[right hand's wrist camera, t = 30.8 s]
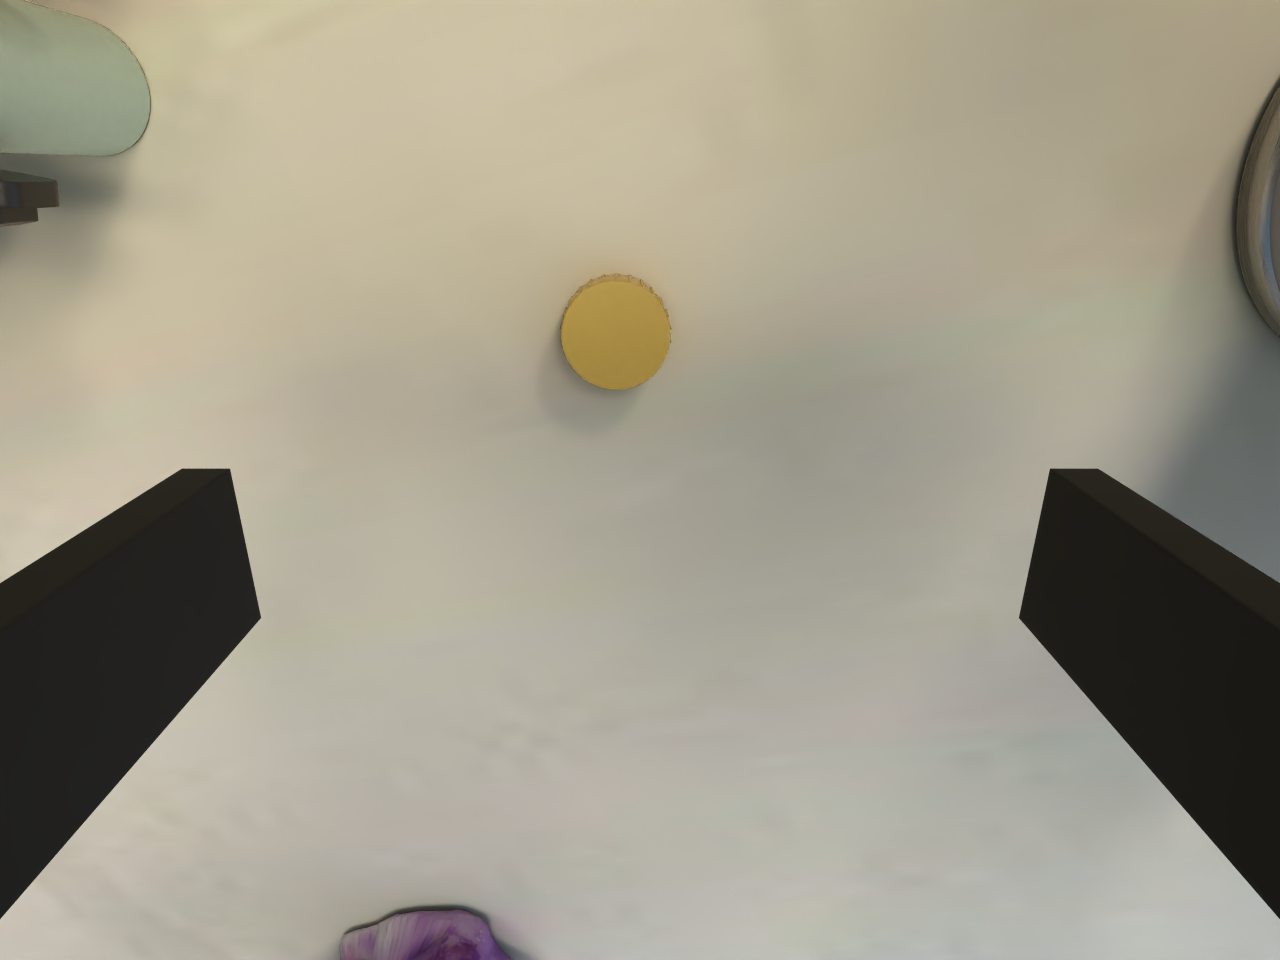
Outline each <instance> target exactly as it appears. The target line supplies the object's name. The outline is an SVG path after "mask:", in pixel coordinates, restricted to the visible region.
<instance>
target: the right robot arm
mask: <svg viewBox="0 0 1280 960" xmlns="http://www.w3.org/2000/svg"><path fill="white" fill-rule="evenodd" d="M1236 234H1237V249H1238V255H1239V262H1240V267H1241V270H1242V274H1243V278H1244V282H1245V284H1246V287H1247V289H1248V292H1249V294H1250V297H1251V299H1252V300H1253V302H1254V304H1255V306H1256V308H1257V309H1258V311H1259V313H1260V314H1261V315H1262V317H1263V318H1264V319H1265V321H1266V322H1267V324H1268V325H1269V326H1270V327H1271V328H1272V329H1273V330H1274V331H1275V332H1276V333H1277V334H1278V335H1279V336H1280V85H1279V87H1278V89H1277V90H1276V92H1275V93H1274V95H1273V97H1272V99H1271V101H1270V103H1269V105H1268V107H1267V109H1266V111H1265V113H1264V115H1263V117H1262V119H1261V122H1260V124H1259V127H1258V129H1257V131H1256V134H1255V136H1254V139H1253V141H1252V144H1251V148H1250V151H1249V154H1248V157H1247V160H1246V163H1245V167H1244V171H1243V176H1242V180H1241V184H1240V191H1239V197H1238V204H1237V220H1236ZM260 618H261V615H260V611H259V606H258V601H257V596H256V591H255V587H254V582H253V577H252V572H251V567H250V563H249V558H248V553H247V548H246V543H245V539H244V534H243V529H242V524H241V519H240V515H239V510H238V505H237V500H236V496H235V491H234V486H233V481H232V476H231V472H230V469H181V470H179V471H178V472H176V473H175V474H173V475H171V476H170V477H168V478H167V479H165V480H163V481H162V482H160V483H159V484H157V485H155V486H154V487H152V488H151V489H149V490H148V491H146V492H144V493H143V494H141V495H140V496H138V497H136V498H135V499H133V500H132V501H130V502H128V503H127V504H125V505H124V506H122V507H121V508H119V509H117V510H116V511H114V512H113V513H111V514H109V515H108V516H106V517H105V518H103V519H101V520H100V521H98V522H97V523H95V524H94V525H92V526H90V527H89V528H87V529H86V530H84V531H82V532H81V533H79V534H78V535H76V536H74V537H73V538H71V539H70V540H68V541H67V542H65V543H63V544H62V545H60V546H59V547H57V548H55V549H54V550H52V551H51V552H49V553H48V554H46V555H44V556H43V557H41V558H40V559H38V560H36V561H35V562H33V563H32V564H30V565H28V566H27V567H25V568H24V569H22V570H21V571H19V572H17V573H16V574H14V575H13V576H11V577H9V578H8V579H6V580H5V581H3V582H1V583H0V919H1V918H2V916H3V915H4V914H5V913H6V912H7V911H8V909H9V908H10V907H11V906H12V905H13V904H14V902H15V901H16V900H17V899H18V898H19V897H20V896H21V894H22V893H23V892H24V891H25V890H26V889H27V887H28V886H29V885H30V884H31V883H32V882H33V881H34V879H35V878H36V877H37V876H38V875H39V874H40V872H41V871H42V870H43V869H44V868H45V867H46V866H47V864H48V863H49V862H50V861H51V860H52V859H53V857H54V856H55V855H56V854H57V853H58V852H59V851H60V849H61V848H62V847H63V846H64V845H65V844H66V842H67V841H68V840H69V839H70V838H71V837H72V836H73V834H74V833H75V832H76V831H77V830H78V829H79V827H80V826H81V825H82V824H83V823H84V822H85V821H86V819H87V818H88V817H89V816H90V815H91V814H92V812H93V811H94V810H95V809H96V808H97V807H98V806H99V804H100V803H101V802H102V801H103V800H104V799H105V797H106V796H107V795H108V794H109V793H110V792H111V790H112V789H113V788H114V787H115V786H116V785H117V784H118V782H119V781H120V780H121V779H122V778H123V777H124V775H125V774H126V773H127V772H128V771H129V770H130V769H131V767H132V766H133V765H134V764H135V763H136V762H137V760H138V759H139V758H140V757H141V756H142V755H143V754H144V752H145V751H146V750H147V749H148V748H149V747H150V745H151V744H152V743H153V742H154V741H155V740H156V739H157V737H158V736H159V735H160V734H161V733H162V732H163V730H164V729H165V728H166V727H167V726H168V725H169V724H170V722H171V721H172V720H173V719H174V718H175V717H176V715H177V714H178V713H179V712H180V711H181V710H182V709H183V707H184V706H185V705H186V704H187V703H188V702H189V700H190V699H191V698H192V697H193V696H194V695H195V693H196V692H197V691H198V690H199V689H200V688H201V687H202V685H203V684H204V683H205V682H206V681H207V680H208V678H209V677H210V676H211V675H212V674H213V673H214V672H215V670H216V669H217V668H218V667H219V666H220V665H221V663H222V662H223V661H224V660H225V659H226V658H227V657H228V655H229V654H230V653H231V652H232V651H233V650H234V648H235V647H236V646H237V645H238V644H239V643H240V642H241V640H242V639H243V638H244V637H245V636H246V635H247V633H248V632H249V631H250V630H251V629H252V628H253V627H254V625H255V624H256V623H257V622H258V621H259V620H260ZM1019 618H1020V620H1021V621H1022V622H1023V623H1024V624H1025V625H1026V627H1027V628H1028V629H1029V630H1030V631H1031V632H1032V633H1033V635H1034V636H1035V637H1036V638H1037V639H1038V640H1039V642H1040V643H1041V644H1042V645H1043V646H1044V647H1045V648H1046V650H1047V651H1048V652H1049V653H1050V654H1051V655H1052V657H1053V658H1054V659H1055V660H1056V661H1057V662H1058V663H1059V665H1060V666H1061V667H1062V668H1063V669H1064V670H1065V672H1066V673H1067V674H1068V675H1069V676H1070V677H1071V678H1072V680H1073V681H1074V682H1075V683H1076V684H1077V685H1078V687H1079V688H1080V689H1081V690H1082V691H1083V692H1084V693H1085V695H1086V696H1087V697H1088V698H1089V699H1090V700H1091V702H1092V703H1093V704H1094V705H1095V706H1096V707H1097V709H1098V710H1099V711H1100V712H1101V713H1102V714H1103V715H1104V717H1105V718H1106V719H1107V720H1108V721H1109V722H1110V724H1111V725H1112V726H1113V727H1114V728H1115V729H1116V730H1117V732H1118V733H1119V734H1120V735H1121V736H1122V737H1123V739H1124V740H1125V741H1126V742H1127V743H1128V744H1129V745H1130V747H1131V748H1132V749H1133V750H1134V751H1135V752H1136V754H1137V755H1138V756H1139V757H1140V758H1141V759H1142V760H1143V762H1144V763H1145V764H1146V765H1147V766H1148V767H1149V769H1150V770H1151V771H1152V772H1153V773H1154V774H1155V775H1156V777H1157V778H1158V779H1159V780H1160V781H1161V782H1162V784H1163V785H1164V786H1165V787H1166V788H1167V789H1168V790H1169V792H1170V793H1171V794H1172V795H1173V796H1174V797H1175V799H1176V800H1177V801H1178V802H1179V803H1180V804H1181V806H1182V807H1183V808H1184V809H1185V810H1186V811H1187V812H1188V814H1189V815H1190V816H1191V817H1192V818H1193V819H1194V821H1195V822H1196V823H1197V824H1198V825H1199V826H1200V827H1201V829H1202V830H1203V831H1204V832H1205V833H1206V834H1207V836H1208V837H1209V838H1210V839H1211V840H1212V841H1213V842H1214V844H1215V845H1216V846H1217V847H1218V848H1219V849H1220V851H1221V852H1222V853H1223V854H1224V855H1225V856H1226V857H1227V859H1228V860H1229V861H1230V862H1231V863H1232V864H1233V866H1234V867H1235V868H1236V869H1237V870H1238V871H1239V872H1240V874H1241V875H1242V876H1243V877H1244V878H1245V879H1246V881H1247V882H1248V883H1249V884H1250V885H1251V886H1252V887H1253V889H1254V890H1255V891H1256V892H1257V893H1258V894H1259V896H1260V897H1261V898H1262V899H1263V900H1264V901H1265V902H1266V904H1267V905H1268V906H1269V907H1270V908H1271V909H1272V911H1273V912H1274V913H1275V914H1276V915H1277V916H1278V918H1279V919H1280V583H1279V582H1277V581H1275V580H1274V579H1272V578H1271V577H1269V576H1267V575H1266V574H1264V573H1263V572H1261V571H1259V570H1258V569H1256V568H1255V567H1253V566H1252V565H1250V564H1248V563H1247V562H1245V561H1244V560H1242V559H1240V558H1239V557H1237V556H1236V555H1234V554H1232V553H1231V552H1229V551H1228V550H1226V549H1225V548H1223V547H1221V546H1220V545H1218V544H1217V543H1215V542H1213V541H1212V540H1210V539H1209V538H1207V537H1206V536H1204V535H1202V534H1201V533H1199V532H1198V531H1196V530H1194V529H1193V528H1191V527H1190V526H1188V525H1186V524H1185V523H1183V522H1182V521H1180V520H1179V519H1177V518H1175V517H1174V516H1172V515H1171V514H1169V513H1167V512H1166V511H1164V510H1163V509H1161V508H1159V507H1158V506H1156V505H1155V504H1153V503H1152V502H1150V501H1148V500H1147V499H1145V498H1144V497H1142V496H1140V495H1139V494H1137V493H1136V492H1134V491H1132V490H1131V489H1129V488H1128V487H1126V486H1125V485H1123V484H1121V483H1120V482H1118V481H1117V480H1115V479H1113V478H1112V477H1110V476H1109V475H1107V474H1105V473H1104V472H1102V471H1101V470H1099V469H1050V472H1049V476H1048V481H1047V486H1046V491H1045V496H1044V500H1043V505H1042V510H1041V515H1040V519H1039V524H1038V529H1037V534H1036V539H1035V543H1034V548H1033V553H1032V558H1031V563H1030V567H1029V572H1028V577H1027V582H1026V587H1025V591H1024V596H1023V601H1022V606H1021V611H1020V615H1019Z"/></svg>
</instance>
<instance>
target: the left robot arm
mask: <svg viewBox="0 0 1280 960" xmlns="http://www.w3.org/2000/svg"><path fill="white" fill-rule="evenodd" d="M44 207H59V195H58V184H57V181H56V180H53V179H48V178H43V177H37V176H32V175H27V174H21V173H16V172H10V171H5V170H0V226H10V225H21V224H26V223H30V222H35V221H38V214H37V208H44Z"/></svg>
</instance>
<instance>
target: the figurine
mask: <svg viewBox="0 0 1280 960" xmlns="http://www.w3.org/2000/svg"><path fill="white" fill-rule="evenodd" d="M340 954H341V960H512V959H511V958H510V957H509V956H507V955H506V954H505V953H504V952H503V951H502V950H501V948H499V946H498V945H497V944H496V942H495V941H494V939H493V936H491V934H490V930H489V927H488V925H487V924H486V923H485V922H484V921H483V919H482V918H481V917H477V916H475V915H473V914H471V913H469V912H467V911H463V910H451V911H416V912H409V913H403V914H398V913H397V914H395V915H394V916H392V917H390V918H387V919H385V920H383V921H382V922H380V923H378V924H377V925H373V926H370V927H368V928H362V929H357V930H354V931H352V932H350V933H347V934H345V935H344V936H343V938H342V940H341V943H340Z"/></svg>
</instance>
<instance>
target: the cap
mask: <svg viewBox="0 0 1280 960" xmlns="http://www.w3.org/2000/svg"><path fill="white" fill-rule="evenodd" d="M563 316H564V320H563V322H562V324H561V329H562V330H561V342H562V347H563V350H564V354H565V356H566V358H567V360H568V362H569V364H570V365H571V367H572V368H573V369H574V371H575V372H576V373H577V374H578V375H579V376H580V377H582V378H583V379H584V380H586V381H587V382H589V383H591V384H593V385H595V386H597V387H601V388H604V389H610V390H622V389H628V388H632V387H635V386H637V385H640V384H642V383H643V382H645V381H647V380H648V379H649V378H651V377H652V376H653V375H654V374H655V373H656V372H657V371H658V370H659V368H660V367H661V365H662V364H663V362H664V360H665V358H666V356H667V354H668V350H669V345H670V343H671V340H670V330H671V326H670V323H669V321H668V318H667V317H669V316H668V313H667V310H666V309H664V307H663V303H662V300H661V298H660V297H659V298H658V296H657V295H656V294H655V292H654V291H653V288H652V287H651V288H649V287H648V286H647V285H646V284H644V283H643V281H642V280H640V281H639V280H637V279H635V278H632V277H630V275H628V276H623V275H617V273H615V275H608V276H605V275H602V277H600V278H597V279H594V280H592V279H591V280H590V282H589V283H587V284H586V285H585V286H583V287H580V288H579V290H578V292H577V293H576V294H575V296H574V297H573V296H572V297H571V299H570V302H569V306H568V308H566V309H565V312H564V314H563Z"/></svg>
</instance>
